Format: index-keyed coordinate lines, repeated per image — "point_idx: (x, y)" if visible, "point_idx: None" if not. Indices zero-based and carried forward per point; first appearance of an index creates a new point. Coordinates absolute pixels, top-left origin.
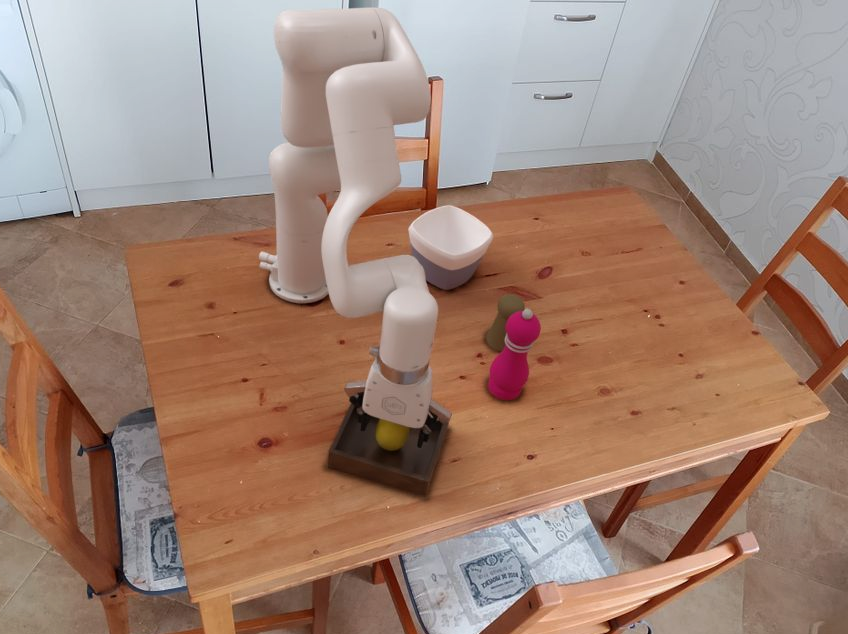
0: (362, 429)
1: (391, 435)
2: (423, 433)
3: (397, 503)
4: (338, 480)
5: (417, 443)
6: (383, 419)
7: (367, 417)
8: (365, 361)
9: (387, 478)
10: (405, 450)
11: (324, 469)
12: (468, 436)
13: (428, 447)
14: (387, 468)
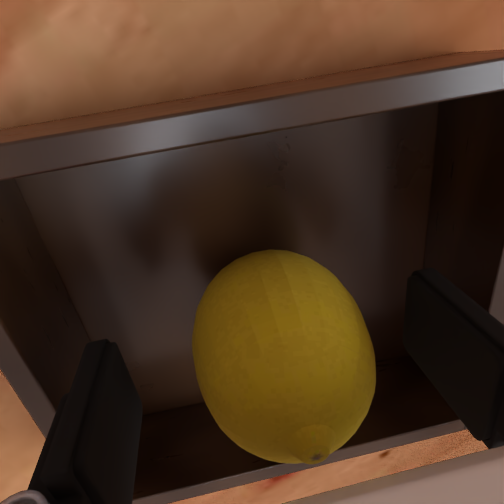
0: (431, 277)
1: (271, 330)
2: (45, 481)
3: (63, 19)
4: (392, 2)
5: (108, 362)
6: (445, 475)
7: (462, 356)
8: (437, 457)
9: (173, 104)
10: (194, 293)
11: (468, 32)
12: (37, 442)
13: (125, 346)
14: (184, 121)
